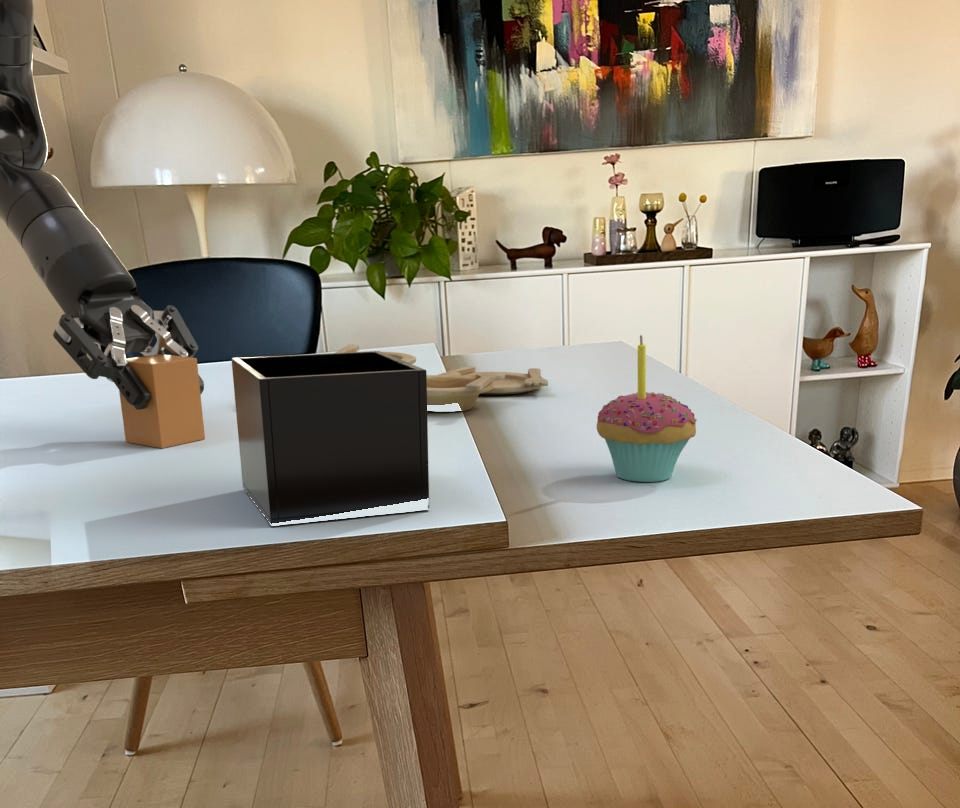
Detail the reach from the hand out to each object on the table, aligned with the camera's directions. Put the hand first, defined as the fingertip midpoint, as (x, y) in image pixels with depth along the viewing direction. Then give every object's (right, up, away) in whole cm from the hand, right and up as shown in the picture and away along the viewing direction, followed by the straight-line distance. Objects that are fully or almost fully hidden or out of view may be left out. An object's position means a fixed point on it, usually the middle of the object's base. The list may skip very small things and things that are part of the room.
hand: (172, 398), depth 102 cm
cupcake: (+44, -10, -12) cm, 47 cm away
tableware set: (+21, +7, +29) cm, 36 cm away
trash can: (+18, -12, -19) cm, 29 cm away
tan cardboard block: (-1, -4, +3) cm, 5 cm away
